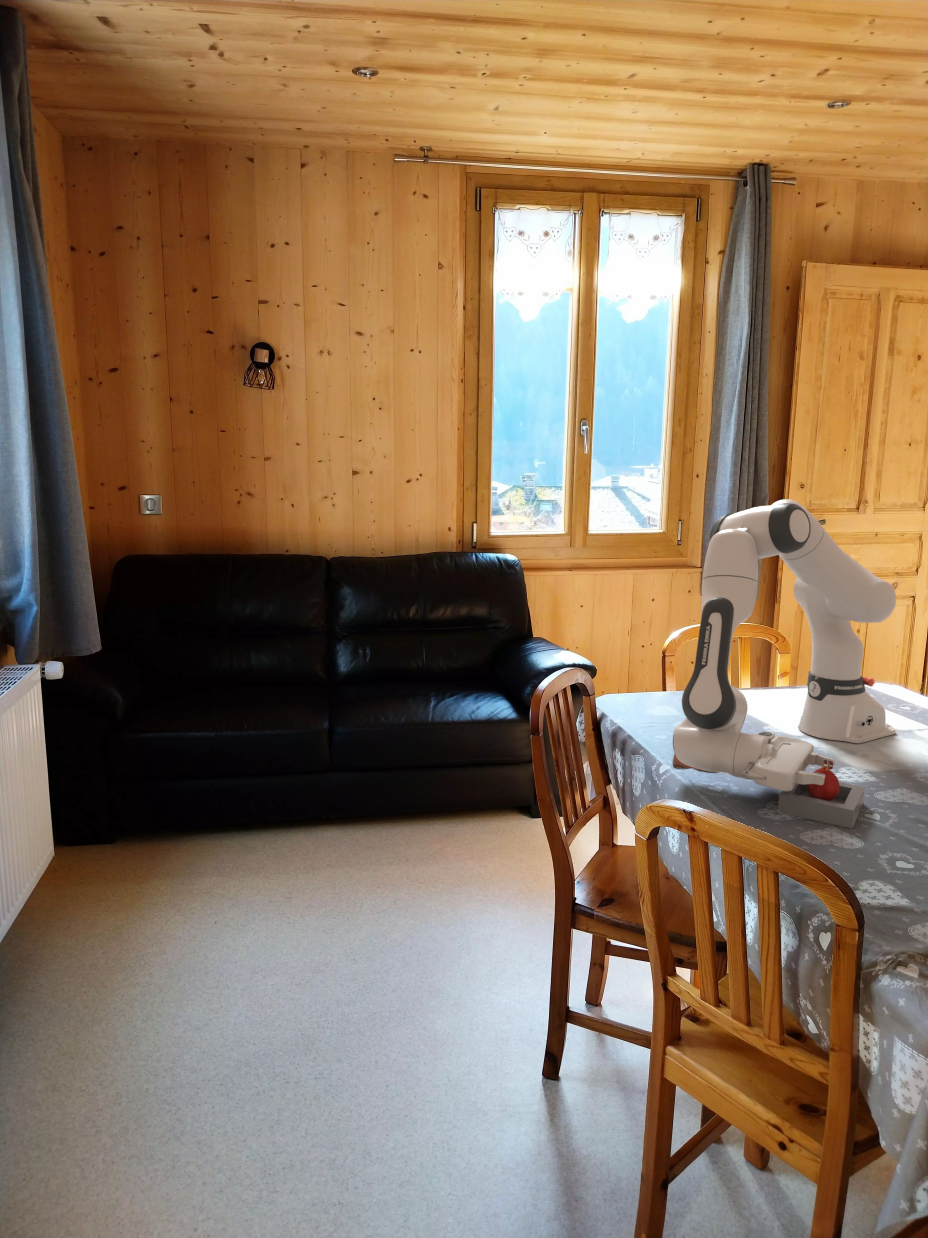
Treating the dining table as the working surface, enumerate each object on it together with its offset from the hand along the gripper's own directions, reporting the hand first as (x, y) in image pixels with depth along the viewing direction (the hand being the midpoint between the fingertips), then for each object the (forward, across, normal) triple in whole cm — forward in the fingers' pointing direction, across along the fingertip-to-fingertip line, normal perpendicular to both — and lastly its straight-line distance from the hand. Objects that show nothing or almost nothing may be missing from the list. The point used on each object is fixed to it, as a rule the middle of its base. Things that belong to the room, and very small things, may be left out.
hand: (829, 772), depth 166 cm
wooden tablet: (-30, +19, +8) cm, 37 cm away
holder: (-1, 0, +8) cm, 8 cm away
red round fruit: (-1, 0, +7) cm, 7 cm away
